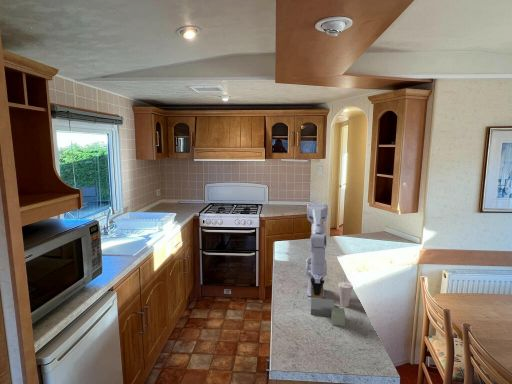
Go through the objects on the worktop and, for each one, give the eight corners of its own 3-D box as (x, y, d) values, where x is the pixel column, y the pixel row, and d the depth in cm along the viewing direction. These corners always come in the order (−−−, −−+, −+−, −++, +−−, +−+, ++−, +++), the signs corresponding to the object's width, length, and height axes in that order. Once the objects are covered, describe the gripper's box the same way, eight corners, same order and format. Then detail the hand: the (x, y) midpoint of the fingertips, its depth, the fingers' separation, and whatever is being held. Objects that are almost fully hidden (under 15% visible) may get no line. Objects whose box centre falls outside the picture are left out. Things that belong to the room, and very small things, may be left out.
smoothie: (340, 300, 147) (342, 271, 145) (354, 304, 143) (355, 275, 141) (334, 305, 142) (335, 276, 140) (348, 309, 138) (349, 279, 136)
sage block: (331, 318, 132) (331, 307, 131) (343, 319, 131) (344, 308, 130) (331, 325, 127) (332, 313, 126) (344, 326, 126) (345, 314, 125)
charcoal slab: (311, 303, 144) (311, 297, 144) (333, 306, 143) (333, 299, 142) (310, 315, 135) (310, 308, 134) (334, 317, 133) (334, 311, 132)
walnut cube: (311, 292, 138) (311, 281, 137) (322, 293, 137) (322, 282, 137) (310, 297, 133) (311, 286, 133) (322, 298, 132) (323, 287, 132)
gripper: (308, 255, 141) (308, 283, 143) (307, 267, 127) (307, 299, 129) (324, 256, 139) (324, 285, 142) (325, 269, 125) (324, 300, 127)
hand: (317, 291), depth 135 cm, fingers closed on walnut cube, 5 cm apart
